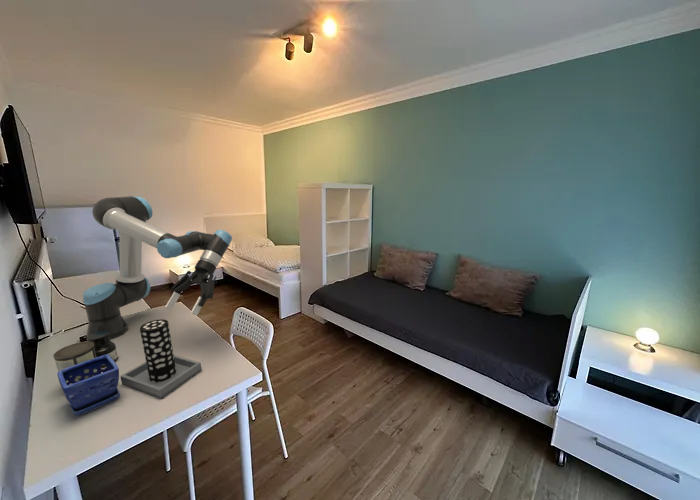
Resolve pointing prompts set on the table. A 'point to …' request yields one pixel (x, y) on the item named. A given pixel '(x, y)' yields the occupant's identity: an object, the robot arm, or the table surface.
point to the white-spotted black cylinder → (158, 350)
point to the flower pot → (90, 384)
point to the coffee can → (75, 356)
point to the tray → (142, 383)
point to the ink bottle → (103, 345)
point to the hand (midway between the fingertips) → (180, 311)
